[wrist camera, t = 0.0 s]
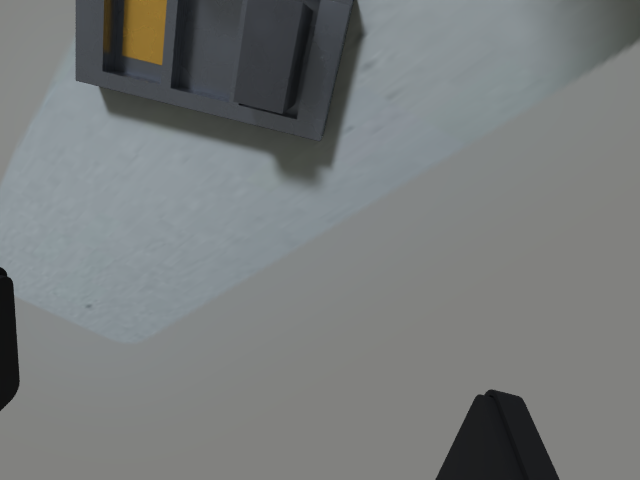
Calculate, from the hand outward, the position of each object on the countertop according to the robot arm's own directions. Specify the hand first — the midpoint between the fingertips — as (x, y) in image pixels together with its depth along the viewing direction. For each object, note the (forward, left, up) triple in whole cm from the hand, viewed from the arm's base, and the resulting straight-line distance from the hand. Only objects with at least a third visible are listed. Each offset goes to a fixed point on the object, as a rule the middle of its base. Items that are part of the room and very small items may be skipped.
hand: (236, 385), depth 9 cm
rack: (-5, -11, -31) cm, 33 cm away
